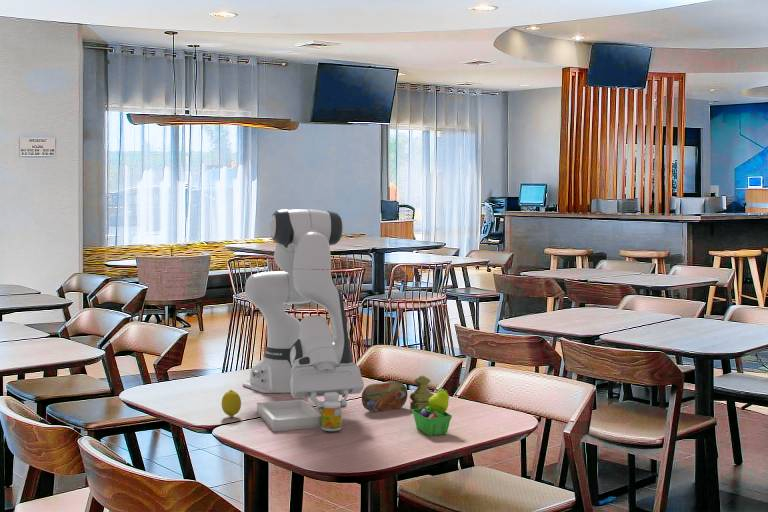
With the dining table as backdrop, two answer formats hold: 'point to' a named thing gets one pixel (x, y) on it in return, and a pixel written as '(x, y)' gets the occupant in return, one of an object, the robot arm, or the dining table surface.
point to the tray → (289, 415)
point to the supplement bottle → (331, 412)
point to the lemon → (231, 403)
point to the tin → (384, 396)
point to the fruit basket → (434, 415)
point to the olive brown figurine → (420, 394)
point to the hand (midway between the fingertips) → (332, 407)
